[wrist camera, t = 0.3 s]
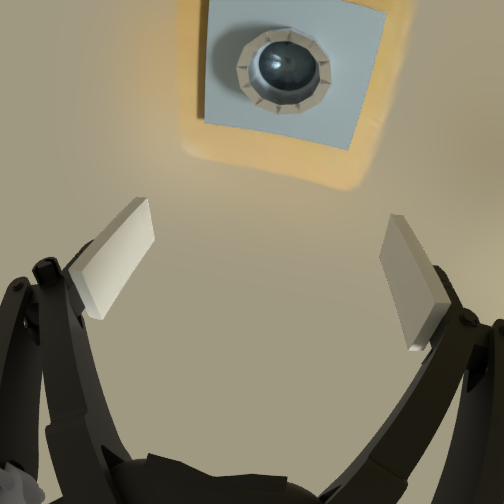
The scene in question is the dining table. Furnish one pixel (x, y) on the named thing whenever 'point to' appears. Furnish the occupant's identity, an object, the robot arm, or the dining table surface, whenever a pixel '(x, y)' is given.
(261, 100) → the pale grey faceted ring
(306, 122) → the board
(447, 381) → the robot arm
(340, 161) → the dining table surface
